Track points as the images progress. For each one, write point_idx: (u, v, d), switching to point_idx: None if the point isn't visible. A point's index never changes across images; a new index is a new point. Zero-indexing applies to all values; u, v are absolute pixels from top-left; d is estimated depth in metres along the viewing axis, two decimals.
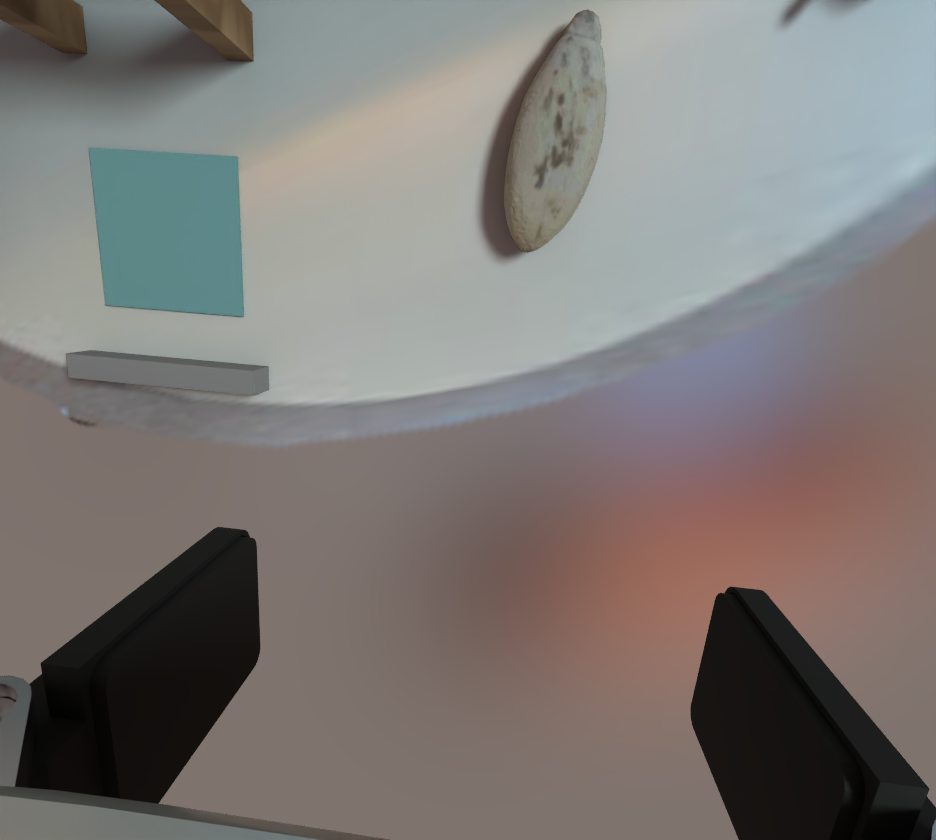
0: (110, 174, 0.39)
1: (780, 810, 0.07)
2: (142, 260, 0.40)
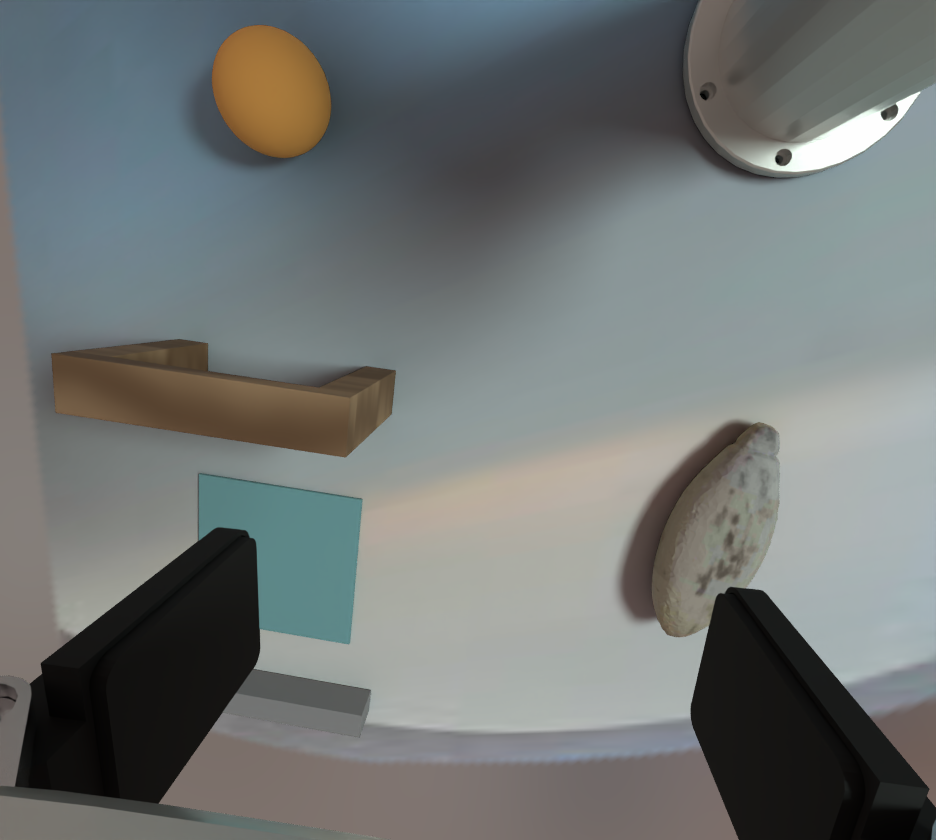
0: (219, 501, 0.36)
1: (779, 809, 0.07)
2: None
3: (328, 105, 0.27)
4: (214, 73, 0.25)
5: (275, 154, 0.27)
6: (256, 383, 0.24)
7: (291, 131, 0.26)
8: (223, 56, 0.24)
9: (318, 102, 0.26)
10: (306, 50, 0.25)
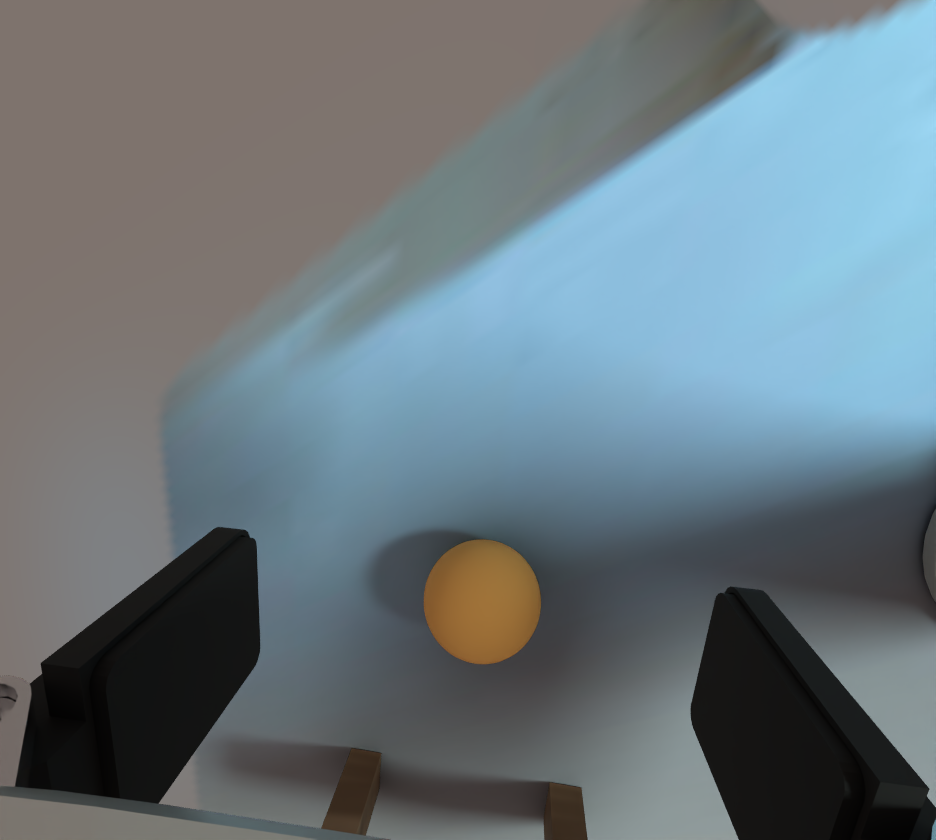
0: None
1: (779, 810, 0.07)
2: None
3: None
4: (435, 619, 0.24)
5: None
6: None
7: None
8: (449, 615, 0.23)
9: (537, 623, 0.24)
10: (526, 580, 0.24)
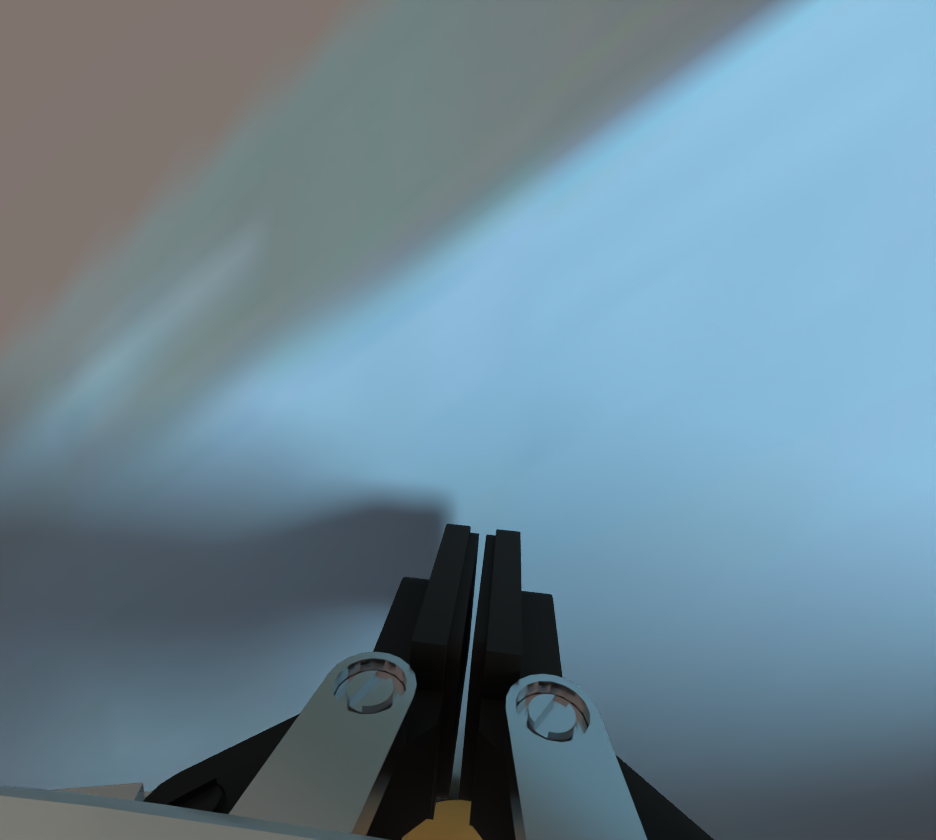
0: None
1: None
2: None
3: None
4: None
5: None
6: None
7: None
8: None
9: None
10: None
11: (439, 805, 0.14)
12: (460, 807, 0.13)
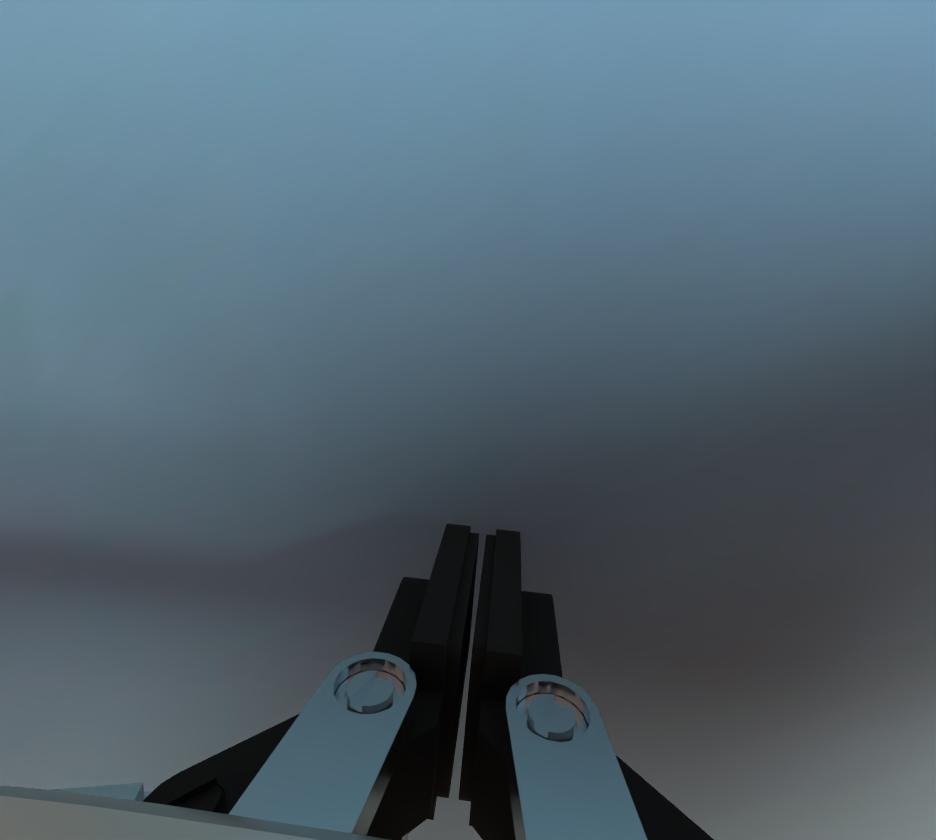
0: None
1: None
2: None
3: None
4: None
5: None
6: None
7: None
8: None
9: None
10: None
11: None
12: None
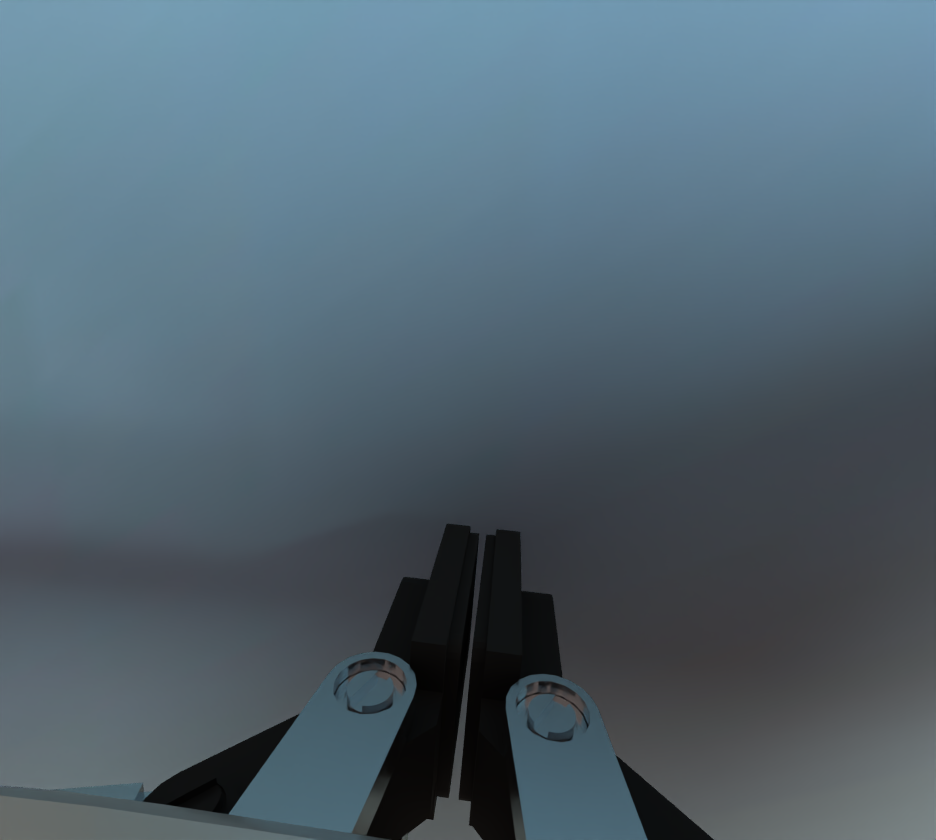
0: None
1: None
2: None
3: None
4: None
5: None
6: None
7: None
8: None
9: None
10: None
11: None
12: None
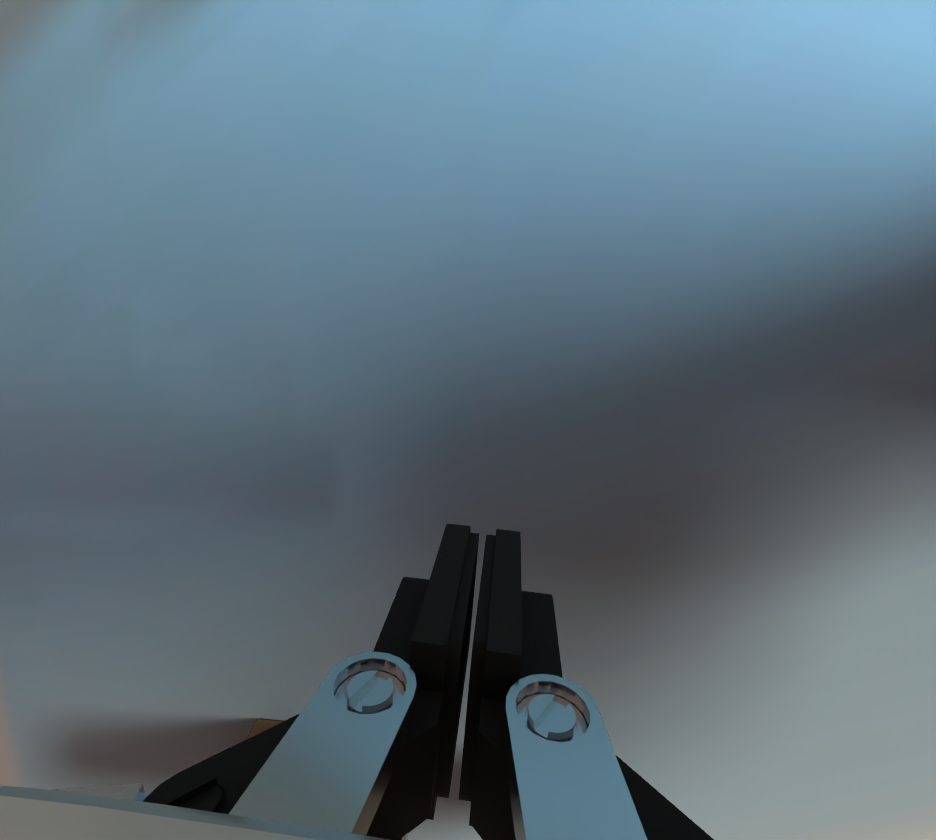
0: None
1: None
2: None
3: None
4: None
5: None
6: None
7: None
8: None
9: None
10: None
11: None
12: None
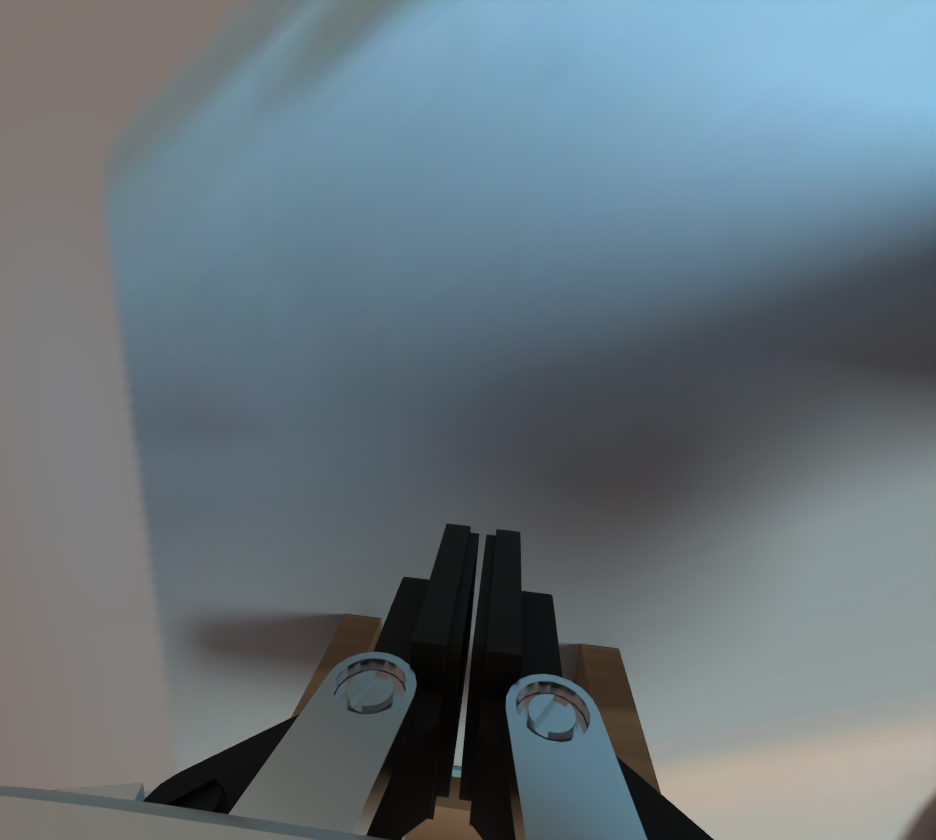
0: None
1: None
2: None
3: None
4: None
5: None
6: None
7: None
8: None
9: None
10: None
11: None
12: None
